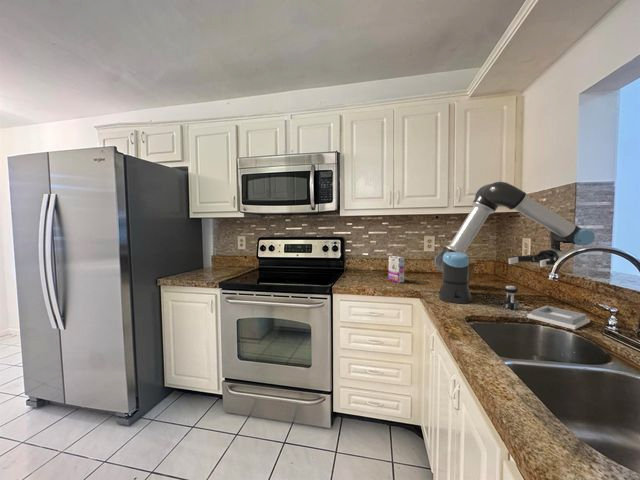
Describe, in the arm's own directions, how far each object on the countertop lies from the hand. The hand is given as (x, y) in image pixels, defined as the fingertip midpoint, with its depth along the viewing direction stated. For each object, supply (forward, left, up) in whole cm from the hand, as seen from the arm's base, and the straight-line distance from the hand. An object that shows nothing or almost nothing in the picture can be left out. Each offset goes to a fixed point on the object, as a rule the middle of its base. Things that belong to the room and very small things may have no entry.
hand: (524, 262), depth 129 cm
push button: (-1, -11, -20) cm, 23 cm away
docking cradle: (+17, -11, -20) cm, 28 cm away
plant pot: (-37, +8, -20) cm, 43 cm away
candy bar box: (-68, -14, -20) cm, 72 cm away
